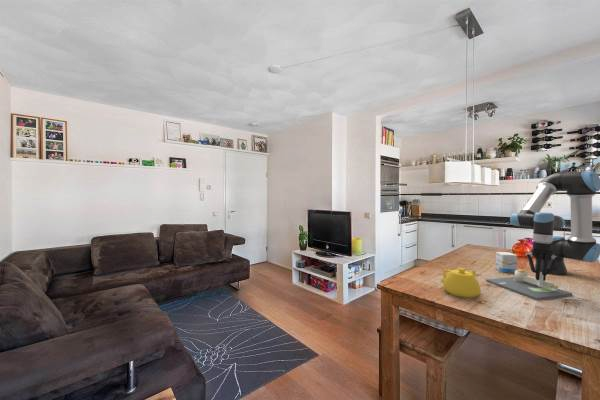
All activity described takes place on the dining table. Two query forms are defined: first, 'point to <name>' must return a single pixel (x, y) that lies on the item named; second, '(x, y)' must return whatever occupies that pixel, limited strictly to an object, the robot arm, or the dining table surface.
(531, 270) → the robot arm
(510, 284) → the board
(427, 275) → the dining table surface
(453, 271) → the teapot
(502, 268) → the ink box
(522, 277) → the peg lever
